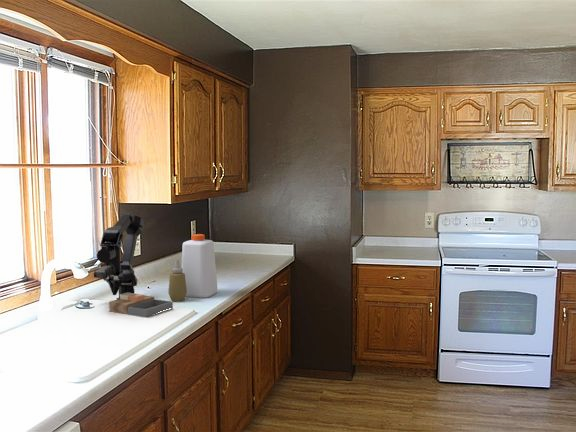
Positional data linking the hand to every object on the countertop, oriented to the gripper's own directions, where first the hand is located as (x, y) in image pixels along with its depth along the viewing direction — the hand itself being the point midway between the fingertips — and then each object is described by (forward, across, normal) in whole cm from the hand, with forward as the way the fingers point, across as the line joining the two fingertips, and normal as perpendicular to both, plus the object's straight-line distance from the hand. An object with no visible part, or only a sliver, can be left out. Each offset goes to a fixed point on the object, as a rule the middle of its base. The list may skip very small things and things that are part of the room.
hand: (114, 295), depth 251 cm
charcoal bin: (+5, +20, 0) cm, 21 cm away
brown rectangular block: (+5, +10, 0) cm, 11 cm away
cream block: (+1, +8, 0) cm, 8 cm away
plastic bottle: (+5, +18, +35) cm, 40 cm away
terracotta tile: (+1, +12, 0) cm, 13 cm away
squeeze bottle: (+5, +17, +21) cm, 27 cm away
